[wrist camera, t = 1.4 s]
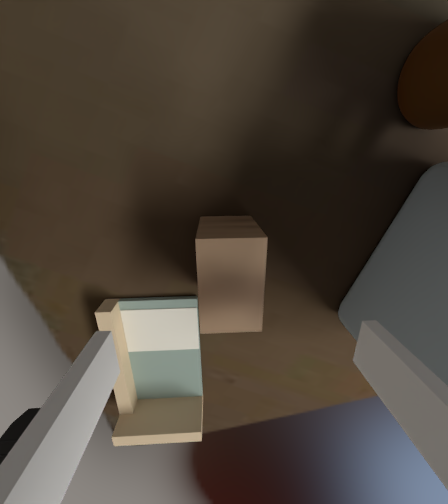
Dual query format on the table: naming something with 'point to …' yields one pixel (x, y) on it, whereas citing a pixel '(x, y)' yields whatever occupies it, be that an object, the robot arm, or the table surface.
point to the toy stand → (156, 368)
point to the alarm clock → (410, 276)
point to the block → (230, 274)
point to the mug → (426, 81)
